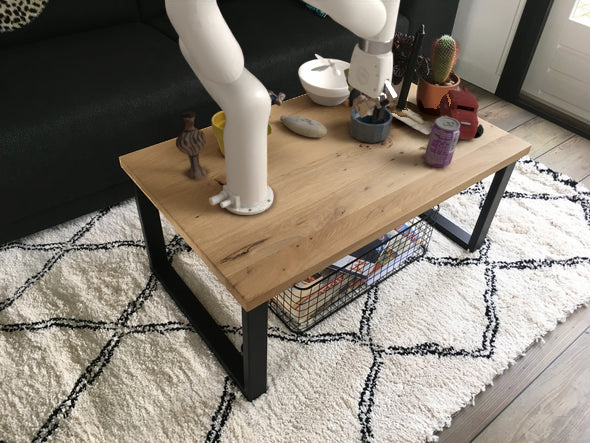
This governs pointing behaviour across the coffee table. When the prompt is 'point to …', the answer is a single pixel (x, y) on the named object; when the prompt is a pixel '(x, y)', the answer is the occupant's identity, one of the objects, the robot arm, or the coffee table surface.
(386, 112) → the dark blue cup
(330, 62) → the fairy figurine
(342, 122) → the coffee table surface
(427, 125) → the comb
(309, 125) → the decorative stone
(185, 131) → the brown ridged tall piece
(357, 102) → the toy character
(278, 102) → the pirate figurine
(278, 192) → the coffee table surface
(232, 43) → the robot arm
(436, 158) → the beverage can
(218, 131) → the flower pot
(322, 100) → the bowl
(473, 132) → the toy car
